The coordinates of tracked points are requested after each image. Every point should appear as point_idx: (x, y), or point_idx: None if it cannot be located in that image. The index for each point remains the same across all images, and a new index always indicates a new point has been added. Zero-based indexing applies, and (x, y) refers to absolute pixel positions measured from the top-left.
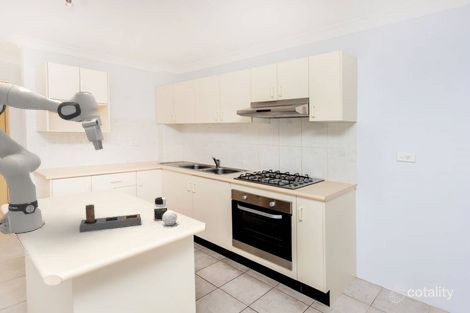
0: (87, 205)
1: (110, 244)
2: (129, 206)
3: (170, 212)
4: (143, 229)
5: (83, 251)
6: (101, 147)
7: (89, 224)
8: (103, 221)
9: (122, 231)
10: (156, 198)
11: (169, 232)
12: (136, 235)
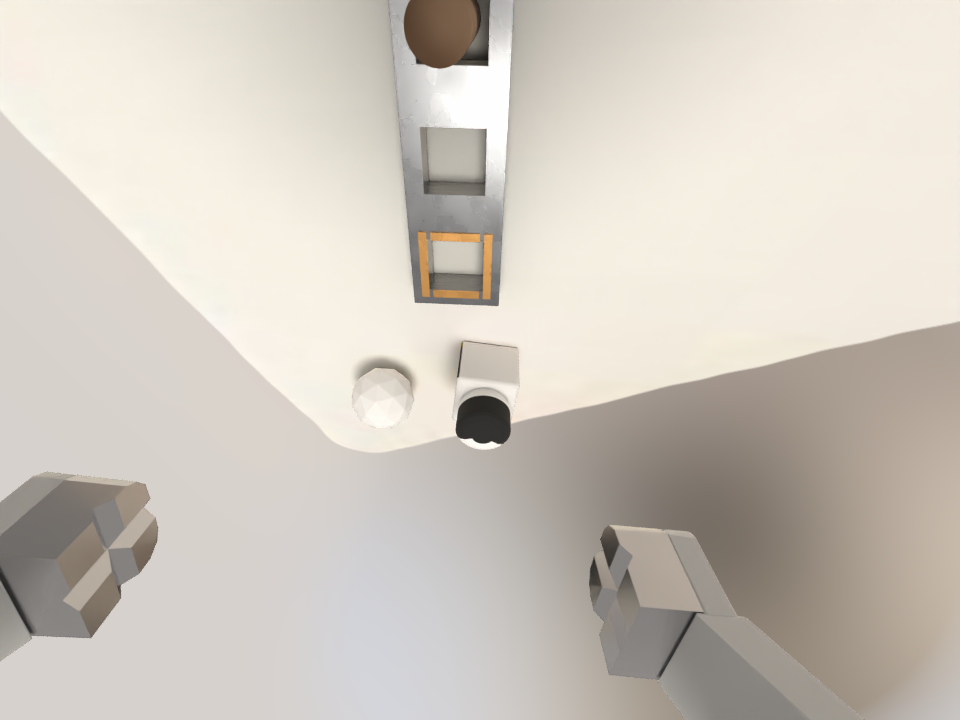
0: (446, 4)
1: (176, 144)
2: (813, 261)
3: (363, 418)
4: (353, 288)
5: (79, 5)
6: (607, 607)
7: (390, 16)
8: (424, 113)
9: (347, 202)
10: (480, 421)
11: (297, 362)
12: (281, 256)
